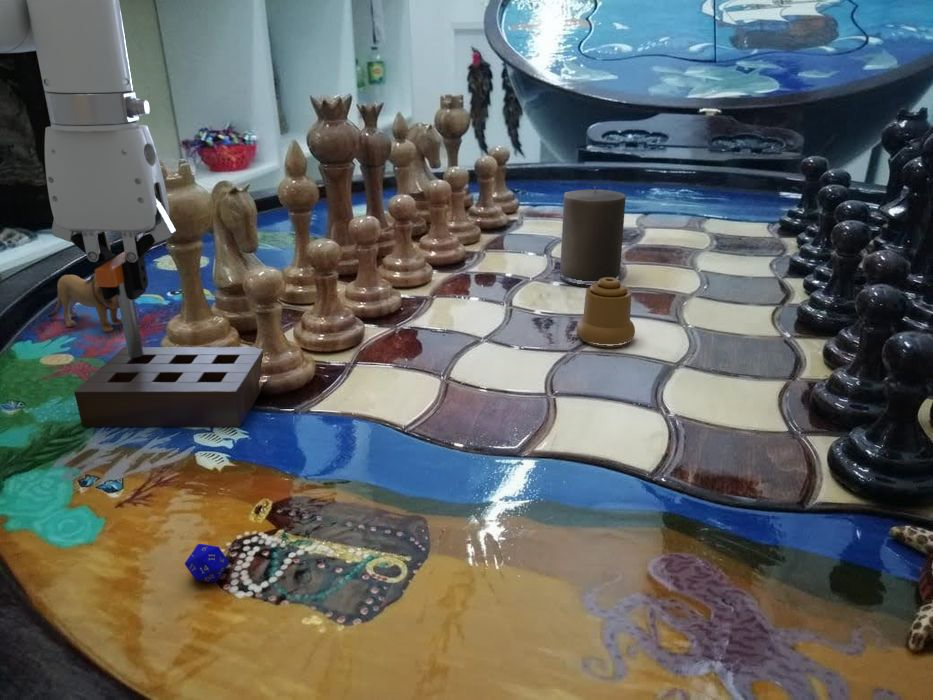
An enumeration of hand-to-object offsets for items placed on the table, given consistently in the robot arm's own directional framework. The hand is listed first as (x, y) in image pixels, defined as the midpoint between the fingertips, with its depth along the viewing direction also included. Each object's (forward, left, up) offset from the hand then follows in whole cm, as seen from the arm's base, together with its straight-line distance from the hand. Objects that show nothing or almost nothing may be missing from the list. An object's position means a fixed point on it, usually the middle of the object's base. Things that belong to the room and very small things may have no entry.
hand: (125, 294), depth 77 cm
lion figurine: (-15, +21, -12) cm, 28 cm away
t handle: (0, 0, -7) cm, 7 cm away
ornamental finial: (+54, +16, -12) cm, 57 cm away
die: (+17, -30, -12) cm, 37 cm away
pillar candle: (+56, +42, -12) cm, 71 cm away
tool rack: (+5, -2, -11) cm, 13 cm away
